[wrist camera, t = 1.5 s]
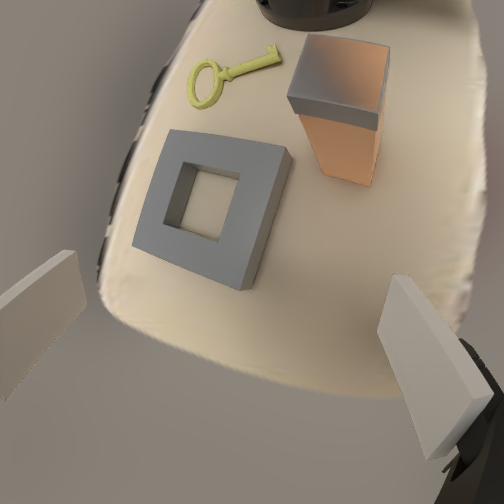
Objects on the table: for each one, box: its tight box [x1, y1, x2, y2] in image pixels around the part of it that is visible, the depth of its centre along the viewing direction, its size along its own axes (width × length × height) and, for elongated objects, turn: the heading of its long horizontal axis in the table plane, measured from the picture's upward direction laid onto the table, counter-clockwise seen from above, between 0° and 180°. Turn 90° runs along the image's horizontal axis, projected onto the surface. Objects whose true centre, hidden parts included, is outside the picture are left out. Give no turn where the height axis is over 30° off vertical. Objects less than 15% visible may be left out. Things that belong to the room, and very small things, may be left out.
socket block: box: [132, 129, 293, 291], centre depth 29 cm, size 13×13×3 cm
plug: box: [287, 34, 390, 187], centre depth 20 cm, size 5×5×14 cm
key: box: [187, 44, 281, 109], centre depth 31 cm, size 7×12×2 cm, turn 114°
